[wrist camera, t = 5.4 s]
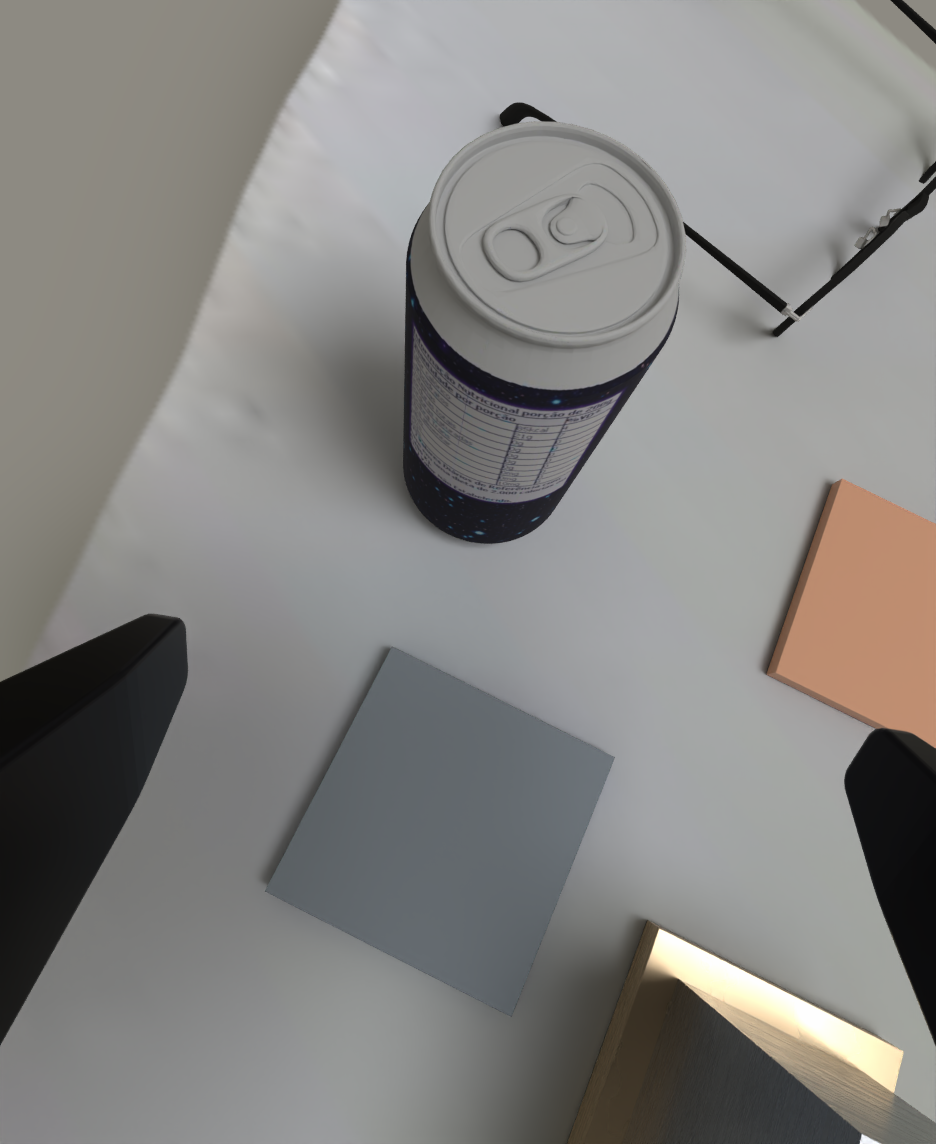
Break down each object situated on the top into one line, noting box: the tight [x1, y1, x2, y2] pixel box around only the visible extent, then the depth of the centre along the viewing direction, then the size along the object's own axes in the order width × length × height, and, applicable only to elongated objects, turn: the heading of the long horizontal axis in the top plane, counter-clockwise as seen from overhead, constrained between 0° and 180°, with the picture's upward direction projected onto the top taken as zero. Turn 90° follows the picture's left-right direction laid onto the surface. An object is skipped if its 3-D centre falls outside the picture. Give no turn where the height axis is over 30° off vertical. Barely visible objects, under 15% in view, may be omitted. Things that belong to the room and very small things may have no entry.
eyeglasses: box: [500, 0, 936, 337], centre depth 27 cm, size 16×16×4 cm
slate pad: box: [265, 647, 615, 1017], centre depth 21 cm, size 8×8×1 cm
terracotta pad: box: [767, 479, 936, 748], centre depth 24 cm, size 8×8×1 cm
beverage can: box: [403, 121, 686, 544], centre depth 18 cm, size 6×6×12 cm
